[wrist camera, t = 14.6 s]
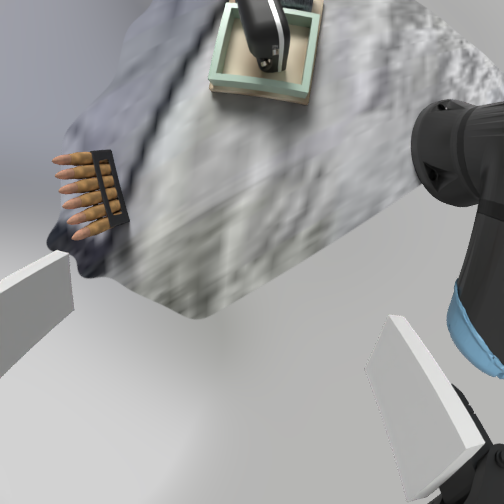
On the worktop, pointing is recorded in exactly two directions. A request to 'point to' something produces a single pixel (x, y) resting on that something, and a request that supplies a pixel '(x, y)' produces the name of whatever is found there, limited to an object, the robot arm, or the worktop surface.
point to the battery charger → (266, 33)
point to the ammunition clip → (93, 191)
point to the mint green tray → (245, 64)
